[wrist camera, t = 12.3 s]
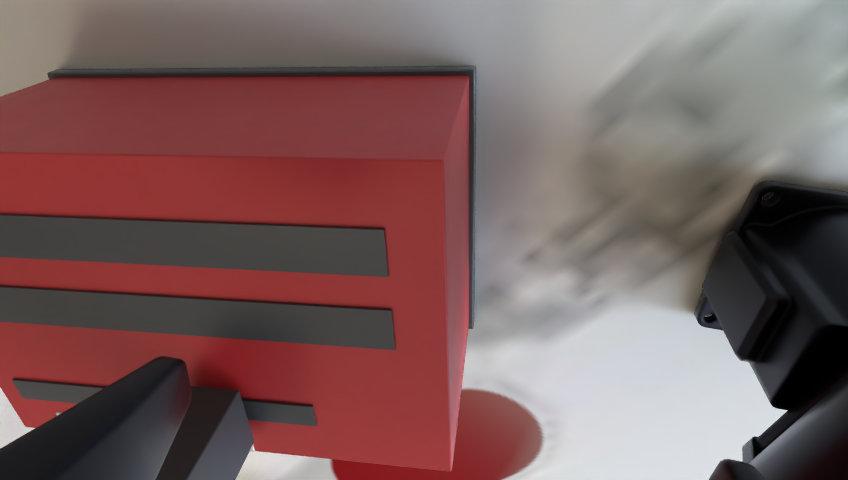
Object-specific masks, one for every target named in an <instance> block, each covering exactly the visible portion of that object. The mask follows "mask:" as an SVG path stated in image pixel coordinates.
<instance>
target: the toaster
mask: <svg viewBox="0 0 848 480" xmlns="http://www.w3.org/2000/svg"><path fill="white" fill-rule="evenodd" d="M48 77H49V79H50V80H47V81H44V82H41V83H39V84H36V85H33V86H30V87H27V88H24V89H22V90H19V91H16V92H13V93H10V94H7V95H4V96H2V97H0V387H1V389H2V390H3V392H4V393H5V395H6V397H7V398H8V400H9V401H10V403H11V404H12V406H13V408H14V409H15V411H16V412H17V414H18V416H19V417H20V419H21V420H22V422H23V423H24V425H25V426H26V427H32V428H37V427H39V426H40V425H42V424H44V423H45V422H47V421H49V420H50V419H52V418H54V417H56V416H57V415H59V414H61V413H62V412H64V411H66V410H68V409H69V408H71V407H73V406H74V405H76V404H78V403H80V402H81V401H83V400H85V399H86V398H88V397H90V396H92V395H93V394H95V393H97V392H98V391H100V390H102V389H103V388H105V387H107V386H109V385H110V384H112V383H114V382H115V381H117V380H119V379H121V378H122V377H124V376H126V375H127V374H129V373H131V372H133V371H134V370H136V369H138V368H139V367H141V366H143V365H145V364H146V363H148V362H150V361H151V360H153V359H155V358H157V357H160V356H167V357H173V358H178V359H182V360H183V361H184V362H185V363H186V366H187V370H188V375H189V380H190V385H191V386H196V387H208V388H219V389H231V390H239V392H240V395H241V399H242V402H243V405H244V408H245V411H246V415H247V418H248V421H249V424H250V428H251V431H252V434H253V437H254V443H253V445H252V447H251V449H250V451H252V452H254V451H261V452H271V453H280V454H290V455H299V456H309V457H318V458H328V459H337V460H347V461H357V462H366V463H376V464H386V465H395V466H404V467H414V468H423V469H433V470H443V471H451V470H452V464H453V456H454V447H455V438H456V429H457V422H458V412H459V405H460V396H461V387H462V379H463V370H464V362H465V353H466V345H467V336H468V329H473V327H474V274H475V144H476V66H399V67H281V68H162V69H57V70H54V71H51V72H49V73H48Z"/></svg>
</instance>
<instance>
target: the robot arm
mask: <svg viewBox="0 0 848 480" xmlns="http://www.w3.org/2000/svg"><path fill="white" fill-rule="evenodd" d="M769 192H773V195H772V196H771V198H769V199H767V200H762V197H763V196H764V195H765V194H767V193H769ZM702 288H703V290H704V292H703V294H702V296H701V298H700V301H699V303H698V305H697V307H696V309H695V313H694V314H695V317H696V319H697V321H698V323H699V324H700V325H701V326H704V327H707V328H713V329H719V330H723V331H724V333H725V335H726V337H727V339H728V341H729V343H730V345H731V347H732V349H733V351H734V353H735V354H736V356H737V357H738V358H739V359H740V360H741V361H747V362H749V363H750V365H751V367H752V368H753V370H754V372H755V374H756V376H757V378H758V380H759V382H760V384H761V386H762V388H763V390H764V392H765V393H766V395H767V397H768V399H769V401H770V403H771V405H772V406H773V407H775V408H778V409H784V410H788V411H787V412H786V413H785V414H784V415H783V416H781V417H780V418H779V419H778V420H777V421H776V422H775V423H774V424H773V425H771V426H770V427H769V428H768V429H767V430H766V431H765V432H764V433H763V434H761V435H760V436H759V437H753V438H752V439H750V440H749V441H748V442H747V443H746V444H745V445H744V446H743V448H742V451H743V462H741V461H735V460H730V459H724V460H722V461H720V463H719V464H718V466H717V467H716V469H715V470H714V472H713V474H712V475H711V477H710V478H709V480H848V192H844V191H837V190H830V189H823V188H816V187H809V186H802V185H795V184H789V183H782V182H775V181H765V182H762V183H759V184H758V185H756V186H755V187H754V188H753V190H752V191H751V193H750V195H749V197H748V199H747V201H746V203H745V205H744V208H743V210H742V212H741V214H740V216H739V218H738V220H737V222H736V224H735V227H734V229H733V231H732V232H730V233H729V234H727V235H726V236H725V238H724V240H723V242H722V244H721V246H720V248H719V251H718V253H717V255H716V257H715V259H714V261H713V263H712V266H711V268H710V270H709V272H708V274H707V276H706V278H705V281H704V283H703V285H702ZM709 313H713V314H712V315H711V316H709V317H705V315H706V314H709ZM191 397H192V391H191V385H190V380H189V375H188V370H187V366H186V363H185V362H184V361H183V360H182V359H178V358H173V357H167V356H160V357H157V358H155V359H153V360H151V361H150V362H148V363H146V364H145V365H143V366H141V367H139V368H138V369H136V370H134V371H133V372H131V373H129V374H127V375H126V376H124V377H122V378H121V379H119V380H117V381H115V382H114V383H112V384H110V385H109V386H107V387H105V388H103V389H102V390H100V391H98V392H97V393H95V394H93V395H92V396H90V397H88V398H86V399H85V400H83V401H81V402H80V403H78V404H76V405H74V406H73V407H71V408H69V409H68V410H66V411H64V412H62V413H61V414H59V415H57V416H56V417H54V418H52V419H50V420H49V421H47V422H45V423H44V424H42V425H40V426H39V427H37V428H35V429H33V430H32V431H30V432H28V433H27V434H25V435H23V436H21V437H20V438H18V439H16V440H15V441H13V442H11V443H9V444H8V445H6V446H4V447H3V448H1V449H0V480H155V479H156V477H157V475H158V473H159V471H160V468H161V466H162V464H163V462H164V460H165V457H166V455H167V453H168V451H169V449H170V447H171V444H172V442H173V440H174V438H175V436H176V433H177V431H178V429H179V427H180V425H181V422H182V420H183V418H184V416H185V414H186V412H187V409H188V407H189V405H190V402H191Z"/></svg>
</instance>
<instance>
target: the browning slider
mask: <svg viewBox="0 0 848 480" xmlns="http://www.w3.org/2000/svg"><path fill="white" fill-rule="evenodd" d="M191 391H192V397H191V402H190V405H189V407H188V409H187V412H186V414H185V416H184V418H183V420H182V422H181V425H180V427H179V429H178V431H177V433H176V436H175V438H174V440H173V442H172V444H171V447H170V449H169V451H168V453H167V455H166V457H165V460H164V462H163V464H162V466H161V468H160V471H159V473H158V475H157V477H156V479H155V480H235V479H236V477H237V475H238V473H239V471H240V469H241V467H242V465H243V463H244V461H245V459H246V457H247V455H248V453H249V451H250V449H251V447H252V445H253V443H254V437H253V434H252V431H251V428H250V424H249V421H248V418H247V415H246V411H245V408H244V405H243V402H242V399H241V395H240V392H239V390H231V389H219V388H208V387H196V386H191Z"/></svg>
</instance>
